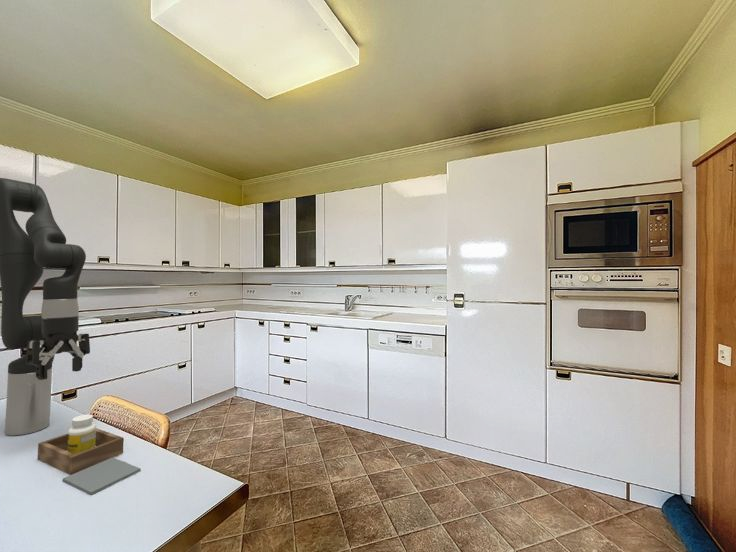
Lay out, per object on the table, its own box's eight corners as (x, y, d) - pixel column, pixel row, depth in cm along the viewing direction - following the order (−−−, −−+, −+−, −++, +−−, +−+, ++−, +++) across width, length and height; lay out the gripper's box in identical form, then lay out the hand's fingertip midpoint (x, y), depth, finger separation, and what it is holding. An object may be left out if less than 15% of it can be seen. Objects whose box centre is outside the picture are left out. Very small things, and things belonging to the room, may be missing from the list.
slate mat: (62, 481, 74) (62, 478, 74) (112, 459, 83) (112, 457, 83) (91, 495, 69) (91, 492, 69) (140, 471, 78) (140, 468, 78)
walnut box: (37, 459, 82) (38, 443, 82) (89, 440, 92) (90, 426, 92) (71, 475, 76) (71, 457, 76) (123, 453, 86) (123, 437, 86)
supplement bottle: (62, 458, 83) (64, 418, 83) (88, 449, 88) (90, 411, 88) (72, 464, 80) (74, 423, 80) (99, 454, 85) (101, 415, 85)
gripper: (76, 313, 99) (76, 368, 99) (18, 318, 85) (17, 382, 85) (97, 313, 98) (97, 369, 97) (41, 318, 84) (41, 383, 83)
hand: (60, 375), depth 91 cm, fingers open, 8 cm apart
